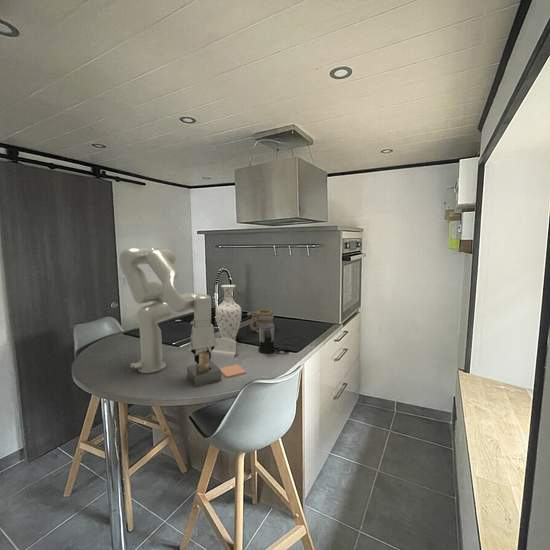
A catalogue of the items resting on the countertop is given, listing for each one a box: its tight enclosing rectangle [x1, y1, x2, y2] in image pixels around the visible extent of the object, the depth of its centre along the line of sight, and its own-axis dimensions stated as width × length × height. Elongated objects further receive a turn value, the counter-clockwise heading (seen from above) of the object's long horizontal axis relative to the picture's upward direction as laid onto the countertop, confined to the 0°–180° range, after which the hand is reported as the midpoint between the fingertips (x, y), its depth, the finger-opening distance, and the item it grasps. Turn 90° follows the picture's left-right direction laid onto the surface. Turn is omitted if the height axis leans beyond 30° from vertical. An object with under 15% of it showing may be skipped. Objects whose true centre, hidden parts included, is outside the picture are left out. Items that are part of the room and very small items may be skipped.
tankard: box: [246, 309, 275, 334], centre depth 208 cm, size 20×13×15 cm, turn 118°
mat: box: [218, 364, 247, 379], centre depth 145 cm, size 10×10×1 cm
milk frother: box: [258, 324, 289, 354], centre depth 172 cm, size 14×16×15 cm
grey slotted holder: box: [186, 360, 222, 388], centre depth 138 cm, size 12×12×5 cm
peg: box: [195, 349, 209, 372], centre depth 137 cm, size 4×4×10 cm
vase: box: [215, 284, 242, 341], centre depth 188 cm, size 16×16×35 cm
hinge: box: [211, 337, 239, 359], centre depth 168 cm, size 17×5×10 cm, turn 74°
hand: (202, 361), depth 137 cm, fingers closed on peg, 4 cm apart
